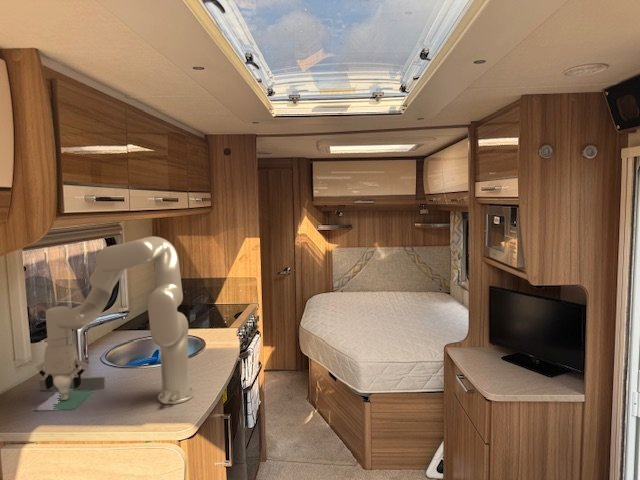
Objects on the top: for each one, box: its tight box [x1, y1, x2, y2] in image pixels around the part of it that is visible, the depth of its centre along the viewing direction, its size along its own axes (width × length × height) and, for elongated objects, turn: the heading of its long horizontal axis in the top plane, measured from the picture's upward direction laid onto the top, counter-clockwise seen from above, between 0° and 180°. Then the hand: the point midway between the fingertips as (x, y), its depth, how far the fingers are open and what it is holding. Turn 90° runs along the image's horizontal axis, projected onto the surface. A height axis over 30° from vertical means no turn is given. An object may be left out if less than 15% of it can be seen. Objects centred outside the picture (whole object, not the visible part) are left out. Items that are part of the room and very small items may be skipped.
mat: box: [33, 390, 94, 411], centre depth 156 cm, size 14×14×1 cm
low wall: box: [38, 376, 107, 391], centre depth 166 cm, size 1×24×4 cm, turn 93°
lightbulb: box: [53, 373, 75, 401], centre depth 156 cm, size 6×6×11 cm
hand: (63, 387), depth 156 cm, fingers open, 9 cm apart
